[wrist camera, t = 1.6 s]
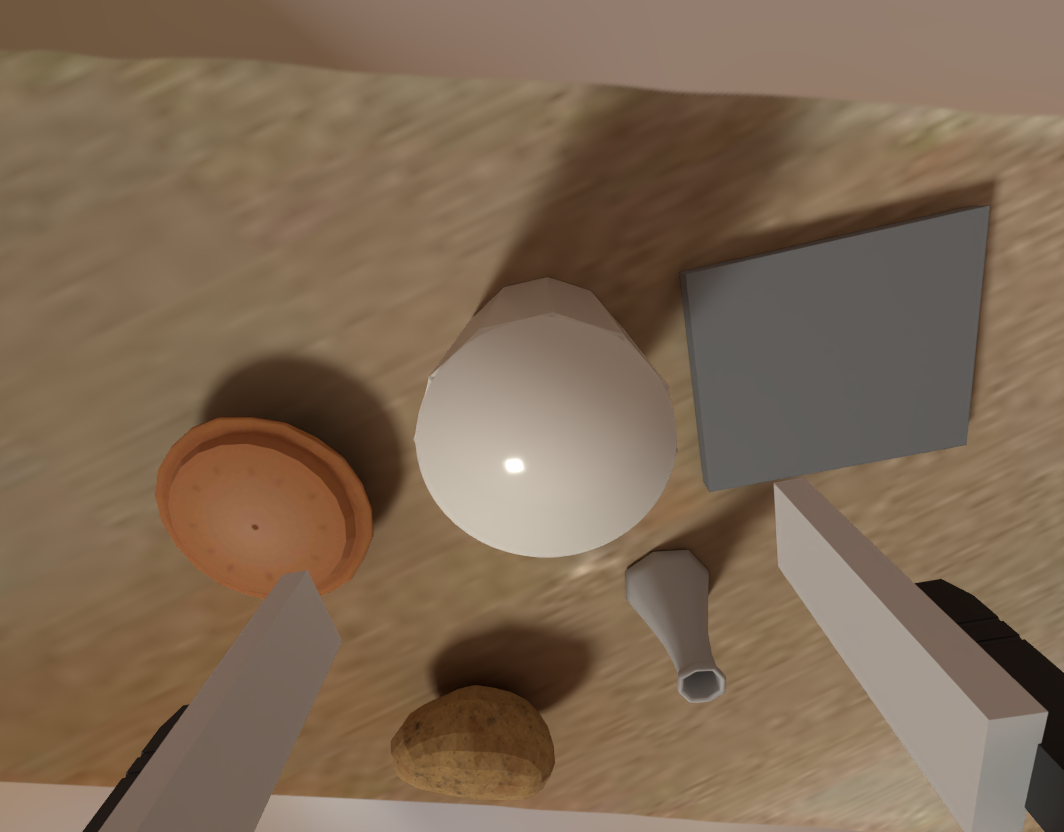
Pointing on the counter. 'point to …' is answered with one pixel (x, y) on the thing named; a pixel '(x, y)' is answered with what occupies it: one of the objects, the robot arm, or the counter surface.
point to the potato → (475, 746)
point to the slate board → (836, 349)
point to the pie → (263, 505)
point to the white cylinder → (545, 424)
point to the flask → (678, 617)
